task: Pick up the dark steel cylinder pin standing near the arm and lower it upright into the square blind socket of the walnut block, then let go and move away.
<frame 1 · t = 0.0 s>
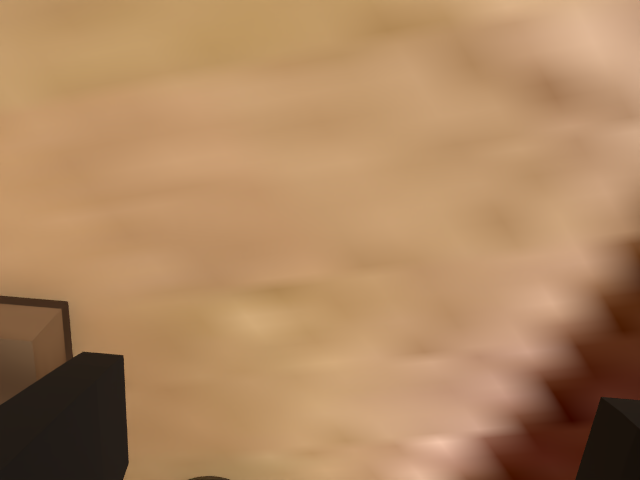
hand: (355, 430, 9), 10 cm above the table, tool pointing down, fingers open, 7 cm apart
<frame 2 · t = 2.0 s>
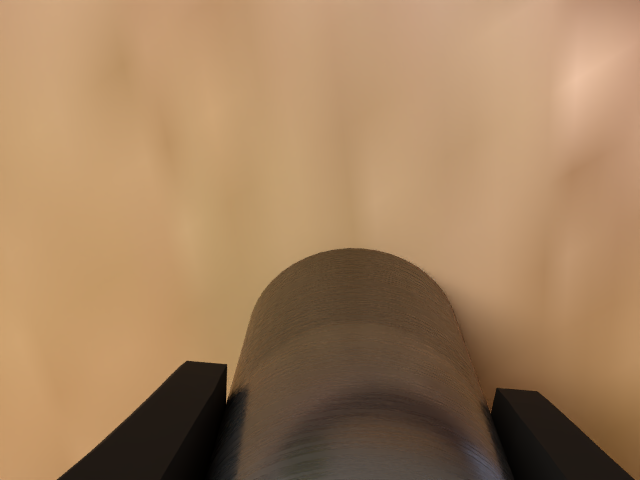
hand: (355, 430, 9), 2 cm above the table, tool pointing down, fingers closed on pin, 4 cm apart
pin: (352, 345, 11), on the table, touching gripper
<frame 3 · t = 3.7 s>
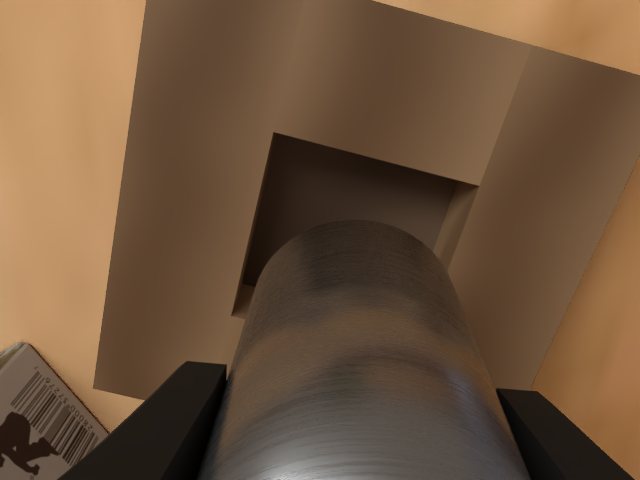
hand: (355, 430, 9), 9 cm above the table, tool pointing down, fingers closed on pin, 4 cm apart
socket block: (347, 221, 18), on the table
pin: (353, 316, 12), point 6 cm above the table, touching gripper
when the fingers open (3 cm above the table, at t = 5.8 s): pin stays where it is, resting on socket block.
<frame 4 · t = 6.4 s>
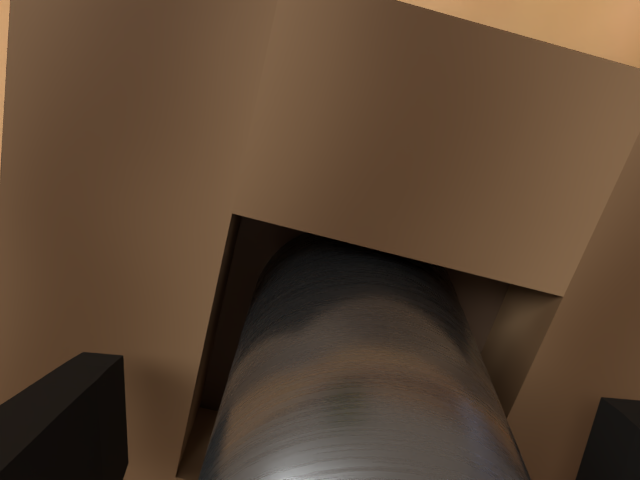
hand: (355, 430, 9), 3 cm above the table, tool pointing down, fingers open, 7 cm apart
socket block: (351, 319, 12), on the table
pin: (353, 316, 12), point 1 cm above the table, touching socket block
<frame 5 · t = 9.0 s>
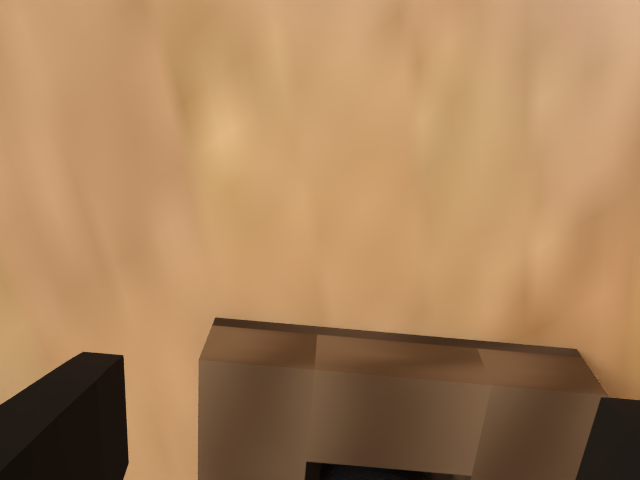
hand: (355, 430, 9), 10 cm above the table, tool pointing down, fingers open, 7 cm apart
socket block: (374, 474, 22), on the table
pin: (375, 478, 21), point 1 cm above the table, touching socket block
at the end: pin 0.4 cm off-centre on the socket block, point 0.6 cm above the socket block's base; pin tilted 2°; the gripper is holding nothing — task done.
